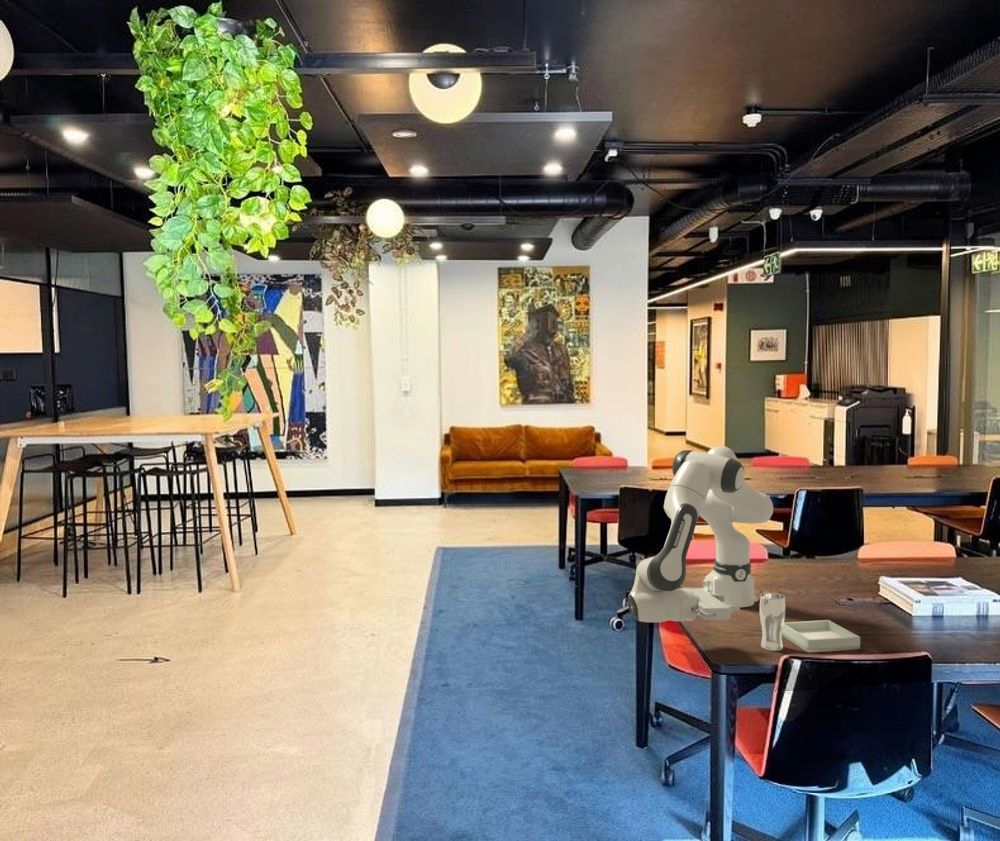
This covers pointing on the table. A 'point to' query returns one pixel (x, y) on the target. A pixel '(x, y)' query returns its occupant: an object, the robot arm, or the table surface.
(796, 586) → the table surface
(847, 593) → the table surface
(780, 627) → the beer glass
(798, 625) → the light gray opaque tray
